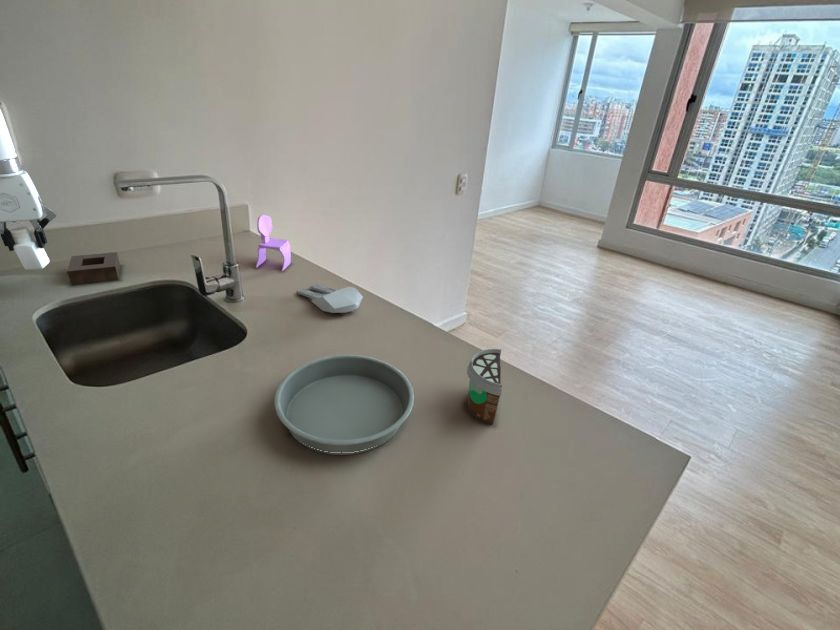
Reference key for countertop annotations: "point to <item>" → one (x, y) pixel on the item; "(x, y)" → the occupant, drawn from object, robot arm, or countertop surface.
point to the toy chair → (271, 242)
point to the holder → (94, 268)
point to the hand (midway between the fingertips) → (27, 246)
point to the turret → (334, 298)
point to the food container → (484, 384)
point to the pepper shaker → (28, 249)
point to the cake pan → (344, 403)
